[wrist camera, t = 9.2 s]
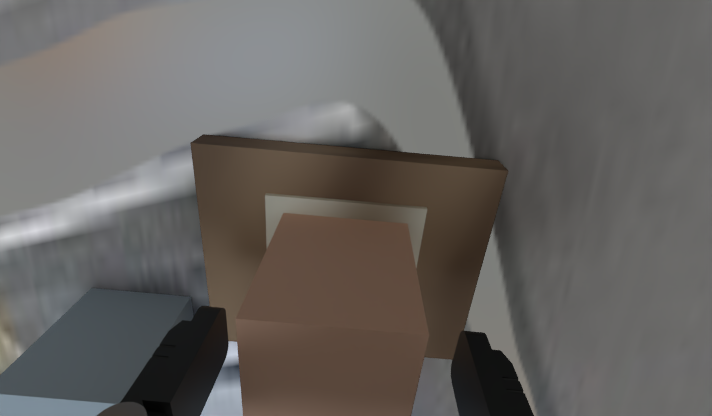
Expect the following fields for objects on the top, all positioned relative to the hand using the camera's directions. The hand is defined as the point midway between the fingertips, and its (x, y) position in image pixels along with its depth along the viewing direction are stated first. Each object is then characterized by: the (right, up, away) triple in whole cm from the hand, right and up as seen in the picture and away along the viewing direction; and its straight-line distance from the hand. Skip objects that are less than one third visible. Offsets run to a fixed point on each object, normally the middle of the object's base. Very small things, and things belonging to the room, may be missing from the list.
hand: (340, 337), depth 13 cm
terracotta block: (0, +2, +3) cm, 4 cm away
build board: (0, +2, +5) cm, 5 cm away
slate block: (-10, -2, +7) cm, 13 cm away
